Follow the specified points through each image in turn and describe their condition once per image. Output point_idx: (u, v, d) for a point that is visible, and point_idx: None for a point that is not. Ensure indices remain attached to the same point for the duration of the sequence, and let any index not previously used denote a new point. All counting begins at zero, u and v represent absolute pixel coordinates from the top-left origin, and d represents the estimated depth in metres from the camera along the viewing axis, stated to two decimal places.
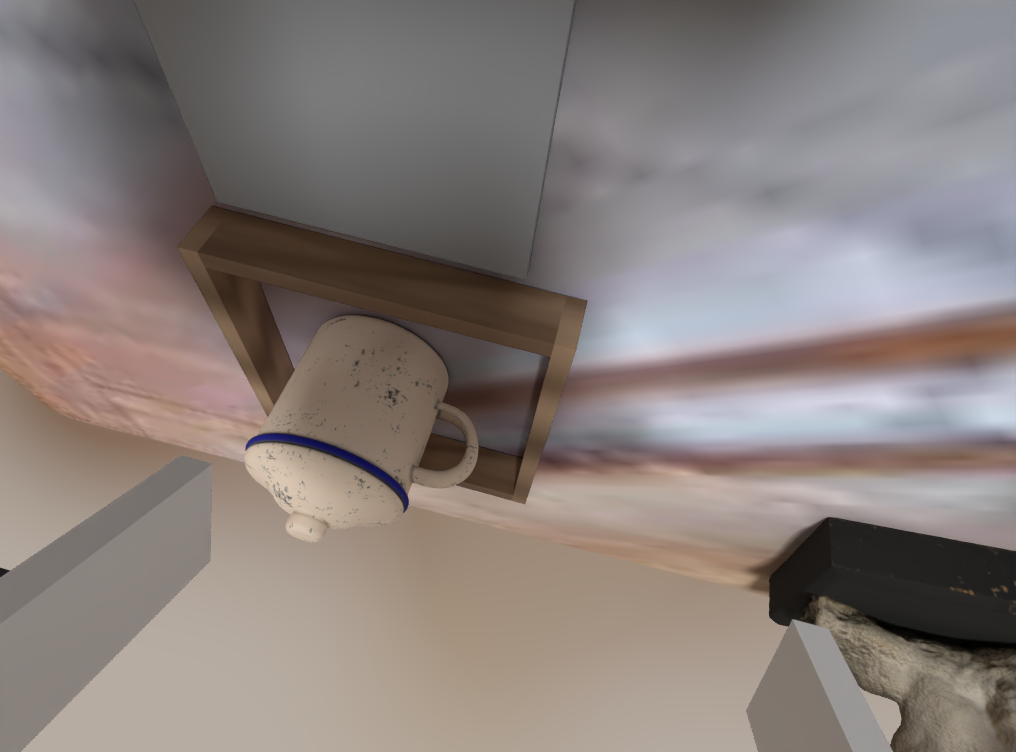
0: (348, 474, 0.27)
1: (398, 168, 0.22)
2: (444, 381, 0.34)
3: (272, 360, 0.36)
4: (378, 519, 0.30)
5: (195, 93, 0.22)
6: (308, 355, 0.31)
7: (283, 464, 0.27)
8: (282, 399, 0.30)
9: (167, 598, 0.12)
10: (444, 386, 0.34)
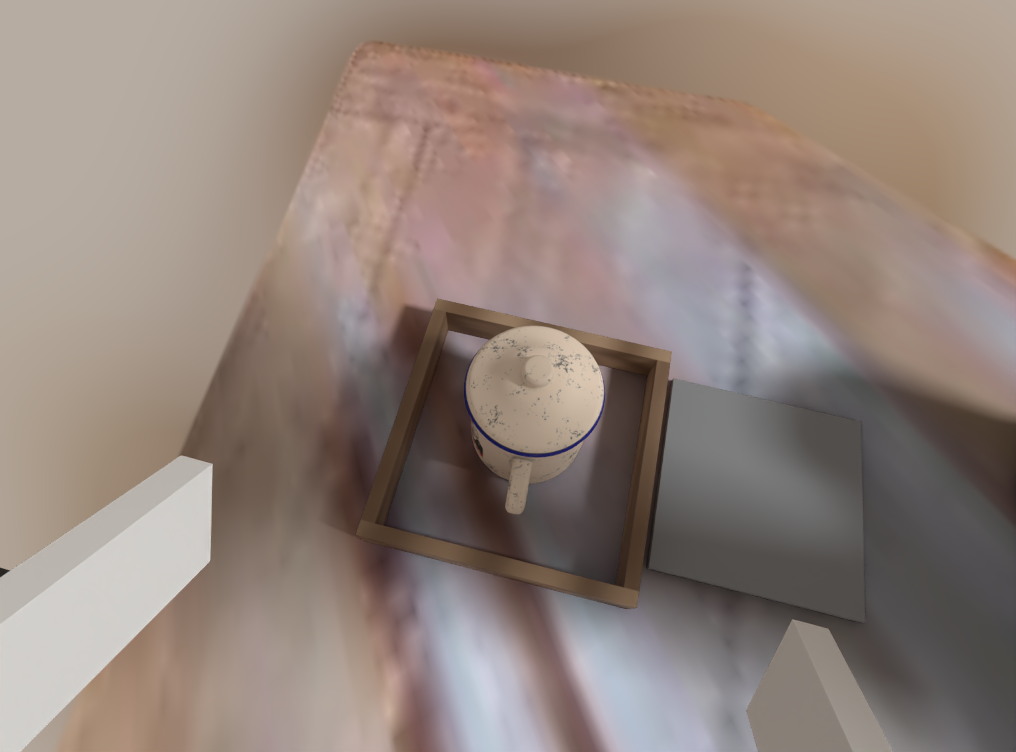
0: (586, 427, 0.35)
1: (717, 502, 0.41)
2: None
3: None
4: (511, 426, 0.34)
5: (741, 406, 0.45)
6: None
7: (591, 377, 0.36)
8: None
9: (167, 598, 0.12)
10: None
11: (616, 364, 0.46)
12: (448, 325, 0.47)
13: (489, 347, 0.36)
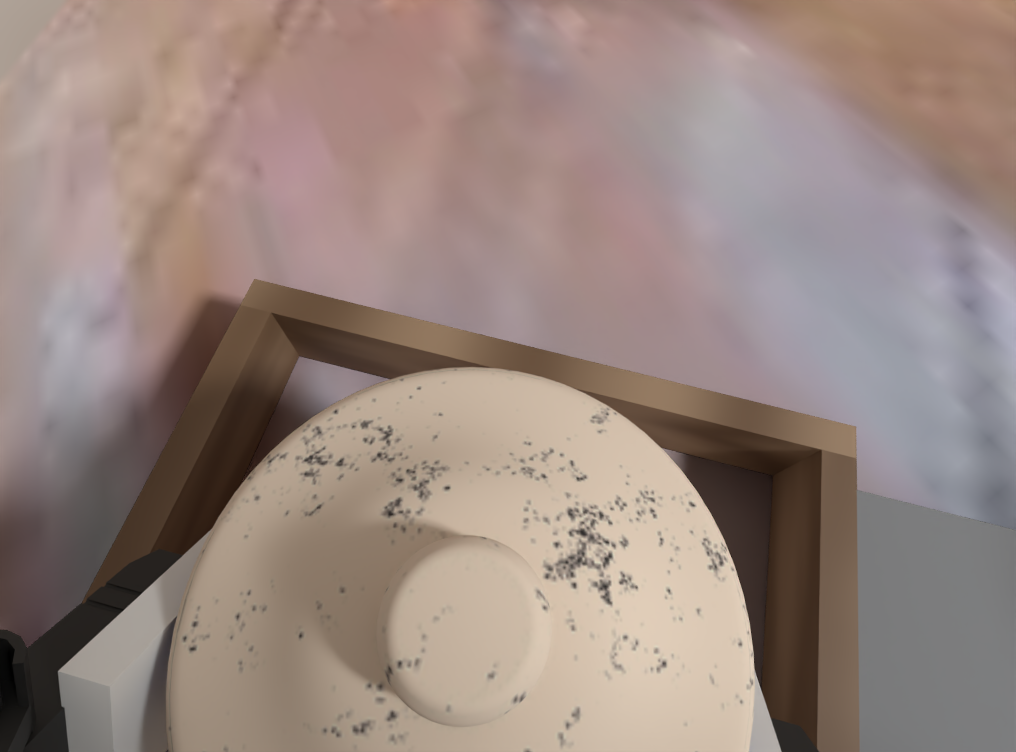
0: None
1: None
2: None
3: None
4: None
5: None
6: None
7: (704, 598, 0.08)
8: None
9: None
10: None
11: (700, 449, 0.19)
12: (294, 346, 0.19)
13: (292, 455, 0.09)
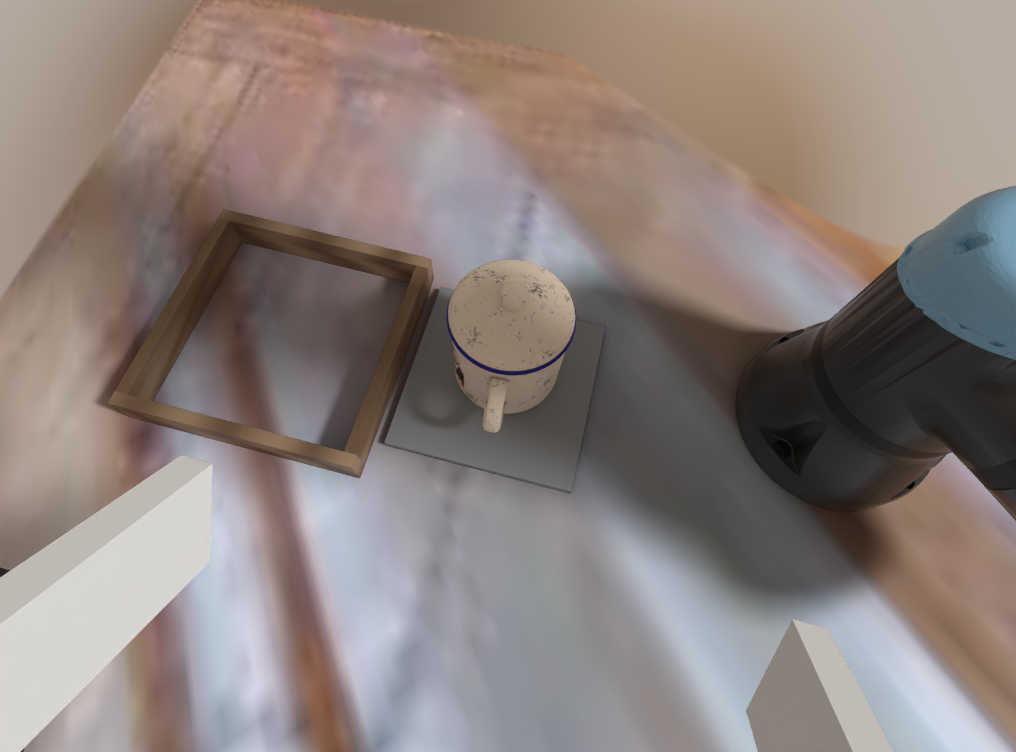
0: (557, 348, 0.38)
1: (458, 390, 0.46)
2: (503, 410, 0.44)
3: (311, 250, 0.50)
4: (489, 345, 0.37)
5: None
6: None
7: (563, 304, 0.39)
8: None
9: (167, 598, 0.12)
10: None
11: (389, 273, 0.50)
12: (239, 236, 0.51)
13: (470, 277, 0.39)
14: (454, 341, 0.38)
